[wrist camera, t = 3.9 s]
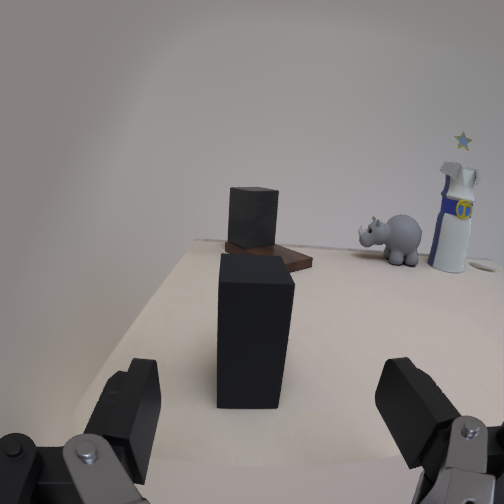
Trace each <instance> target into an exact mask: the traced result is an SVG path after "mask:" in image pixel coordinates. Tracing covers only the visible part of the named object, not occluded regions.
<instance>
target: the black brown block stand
mask: <svg viewBox="0 0 504 504" xmlns="http://www.w3.org/2000/svg"><path fill="white" fill-rule="evenodd" d="M278 195H279V191H278V190H272V189H267V188H261V187H232V188H230V202H229V224H228V242H225V251H226V252H229V253H231V254H246V255H270V256H281V257H282V259H283V261H284V263H285V265H286V267H287V269H288V271H289V272H293V271H297V270H301V269H305V268H309V267H312V260H313V258H312V257H309V256H307V255H304V254H301V253H298V252H296V251H293V250H290V249H287V248H284V247H282V246H279V245H276V244H275V232H276V219H277V207H278Z"/></svg>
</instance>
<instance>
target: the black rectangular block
mask: <svg viewBox="0 0 504 504" xmlns="http://www.w3.org/2000/svg"><path fill="white" fill-rule="evenodd" d="M294 289H295V283H294V281H293V279H292V277H291V275H290V273H289V271H288V269H287V267H286V265H285V263H284V261H283V259H282V257H281V256H270V255H246V254H221V261H220V272H219V287H218V332H217V408H244V409H261V408H278V404H279V398H280V391H281V385H282V378H283V372H284V365H285V358H286V351H287V344H288V336H289V329H290V321H291V314H292V306H293V297H294Z"/></svg>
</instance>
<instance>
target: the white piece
mask: <svg viewBox="0 0 504 504" xmlns="http://www.w3.org/2000/svg"><path fill="white" fill-rule="evenodd" d="M455 138H456V139H457V140H458V141H459V144H458V148H461V147H464V148H465V149H467V150H468V145H467V144H468V143H469V142H471V141H472V140H471V139H469V138H466V136H465V134H464V132H463V133H462V135H461V136H455ZM440 171H441V172H442V173H444V174H446V182H445V187H444V190H443V191H442V192H441V195H442V204H441V211H440V213H439V215H438V217H437V222H436V227H435V233H434V238H433V243H432V247H431V252H430V255H429V259H428V264H429V265H430V266H432V267H434V268H436V269H439V270H442V271H446V272H451V273H462V272H463V271H464V266H465V260H466V254H467V249H468V243H469V237H470V231H471V213H472V206H473V203H474V202H475V199H474V196H473V188H474V184H475V180H476V178H477V181H476V185H478V184H480V183H481V175H480V174H481V170H480V169H479V168H478V169H475V168H469V167H463V166H462V165H461V164H459V163H454V162H444V163H443V166H442V167H441V169H440Z"/></svg>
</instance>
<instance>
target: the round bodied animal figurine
mask: <svg viewBox="0 0 504 504" xmlns="http://www.w3.org/2000/svg"><path fill="white" fill-rule="evenodd" d="M372 219H373V222H372V223H371V224H370V225H369V226H368V229H367V230H365V229H364V232H363V231H362V226H361V227H360V229H359V235H360V238H359V241H360V243H361V245H362V246H364V247H371V246H372V245H374V244H375V245H382V244H385V245H386V247H385V250H384V256H385V257H386V258H389V262H390V263H392V264H396V265H400V264H402V263H403V258H404V259H405V264H407V265H417V264H418V253H417V247H418V246H419V244H420V241H421V234H422V231H421V229H420V227H419V225H418V223H417V222H416V221H415V220H414V219H413V218H412V217H410V216H407V215H397V216H394V217H392V218H391V219H389V221H388V222H387V223H386V224H384V223H383V222H380V221H379V220H377V221H376V218H375V217H373V218H372Z"/></svg>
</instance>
